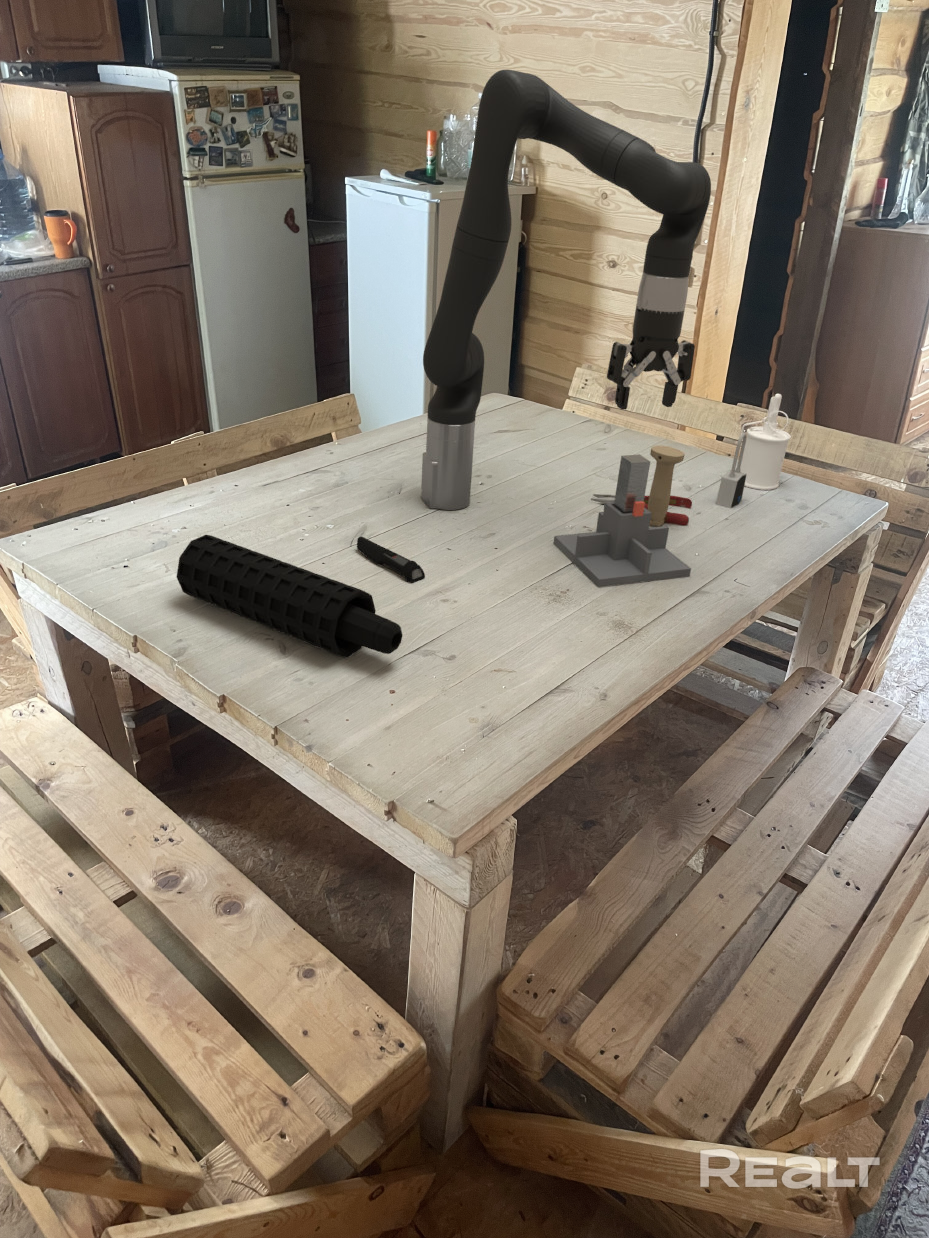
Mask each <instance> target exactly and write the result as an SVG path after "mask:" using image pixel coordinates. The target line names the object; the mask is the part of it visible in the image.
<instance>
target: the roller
mask: <svg viewBox="0 0 929 1238" xmlns="http://www.w3.org/2000/svg"><path fill="white" fill-rule="evenodd" d="M176 579H177V582H178V584H179V586H180V589H181V590H182V592H183V593H184V594H186V595H188V596H190V597H192V598H195V599H198V600H199V601H202V602H205V603H207V604H209V605H213V606H214V607H217V608H220V609H222V610H224V611H227V612H230V613H232V614H234V615H236V616H238V617H242V618H245V619H247V620H249V621H251V622H254V623H257V624H260V625H262V626H263V627H265V628H269V629H271V630H274V631H276V632H279V633H280V634H284V635H286V636H288V637H291V638H294V639H295V640H299V641H300V642H303V643H305V644H306V643H307V644H308V645H311V646H312V647H315V648H318V649H321V650H323V651H326V652H328V653H330V654H333V655H335V656H338V657H342V658H346V659H347V658H350V657H351V656H353V655H354V654H355V653H357V652H358V651H359V650H362V648H363V647H365V648H367V649H369V650H372V651H376V652H379V653H382V654H385V655H386V654H387V655H391V654H392V653H393V652H395V651H396V650H397V649H398V648H399V646H400V645H401V643H402V639H403V632H402V627H401V625H400V624H398V623H396V622H395V621H393V620H390V619H388V618H386V617H383V616H382V615H379V614H376V606H375V602H374V599H373V595H371V593H369V592H366V591H365V590H363V589H360V588H358V587H355V586H352V585H348V584H345V583H344V582H341V581H338V580H335V579H331V578H329V577H327V576H324V575H322V574H319V573H315V572H313V571H311V570H308V569H305V568H302V567H299V566H296V565H293V564H291V563H288V562H286V561H282V560H279V559H277V558H274V557H272V556H268V555H266V554H263V553H260V552H258V551H255V550H251V549H250V548H247V547H245V546H240V545H237V544H235V543H233V542H231V541H228V540H224V539H222V538H219V537H216V536H214V535H210V534H204V535H202V536H199V537H197V538H194V539H192V540H190V542H189V543H188V544H187V546H186V548H185V549H183V552H182V553H181V554H180V556H179V557H178V564H177V572H176Z"/></svg>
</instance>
